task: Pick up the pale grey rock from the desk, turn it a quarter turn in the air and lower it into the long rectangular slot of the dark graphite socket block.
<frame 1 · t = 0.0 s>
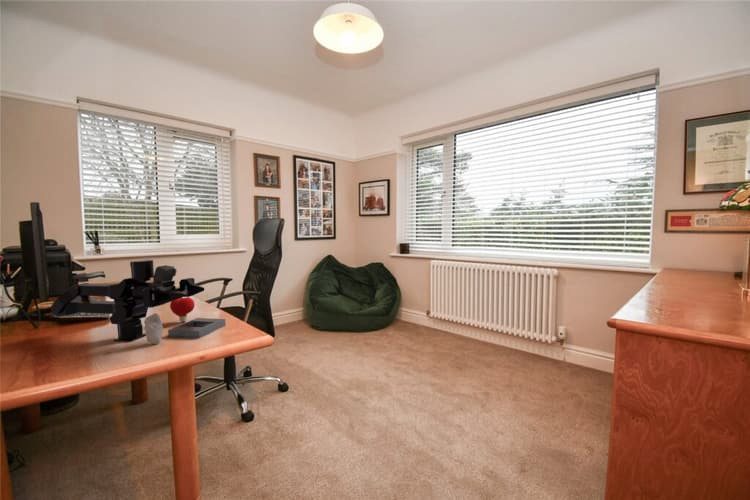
hand: (194, 292, 102), 17 cm above the table, tool horizontal, fingers open, 9 cm apart
pale grey rock: (156, 343, 102), on the table
light bulb: (183, 322, 125), on the table
socket block: (198, 330, 114), on the table
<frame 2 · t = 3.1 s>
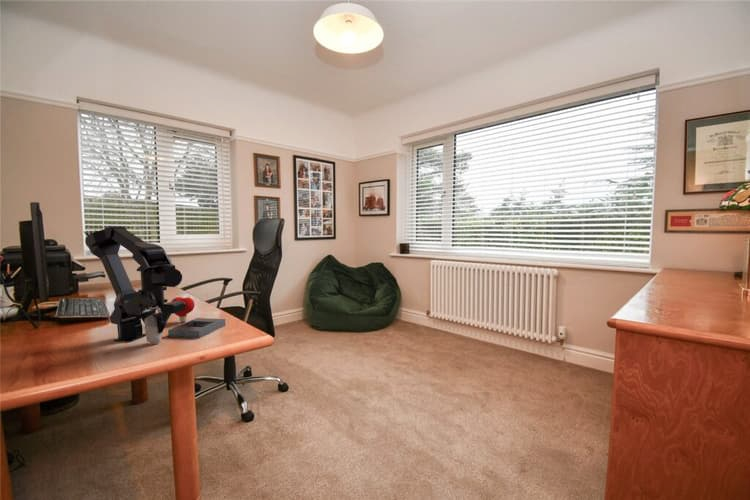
hand: (155, 332, 102), 4 cm above the table, tool pointing down, fingers closed on pale grey rock, 3 cm apart
pale grey rock: (156, 343, 102), on the table, touching gripper
everything else where it was.
when the fingers open (5 cm above the table, at t = 8.3 s): pale grey rock drops 1 cm, resting in socket block.
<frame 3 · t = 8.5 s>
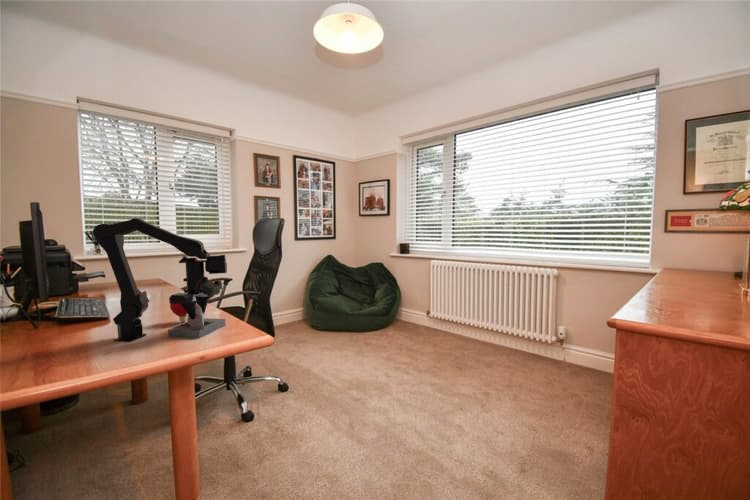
hand: (197, 317, 113), 5 cm above the table, tool pointing down, fingers open, 4 cm apart
pale grey rock: (197, 331, 113), resting in socket block, touching gripper
everything else where it was.
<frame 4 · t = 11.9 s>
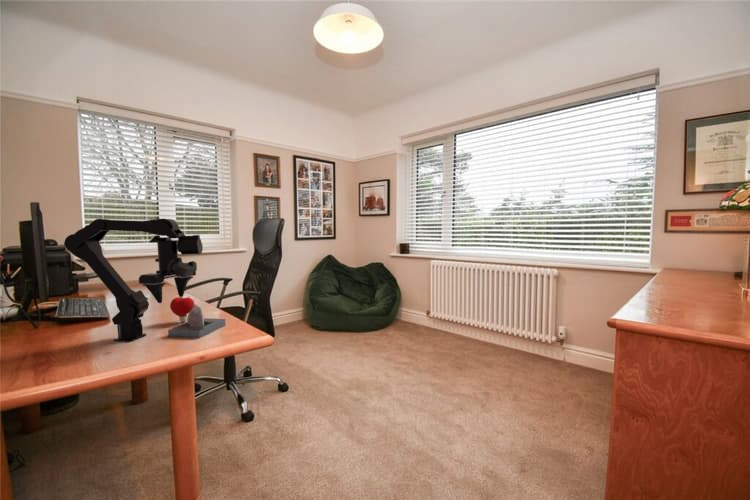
hand: (171, 299, 109), 13 cm above the table, tool pointing down, fingers open, 9 cm apart
pale grey rock: (197, 332, 113), resting in socket block
everything else where it was.
at the end: pale grey rock 0.7 cm off-centre on the socket block, point 0.0 cm above the socket block's base; pale grey rock tilted 0°; the gripper is holding nothing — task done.
